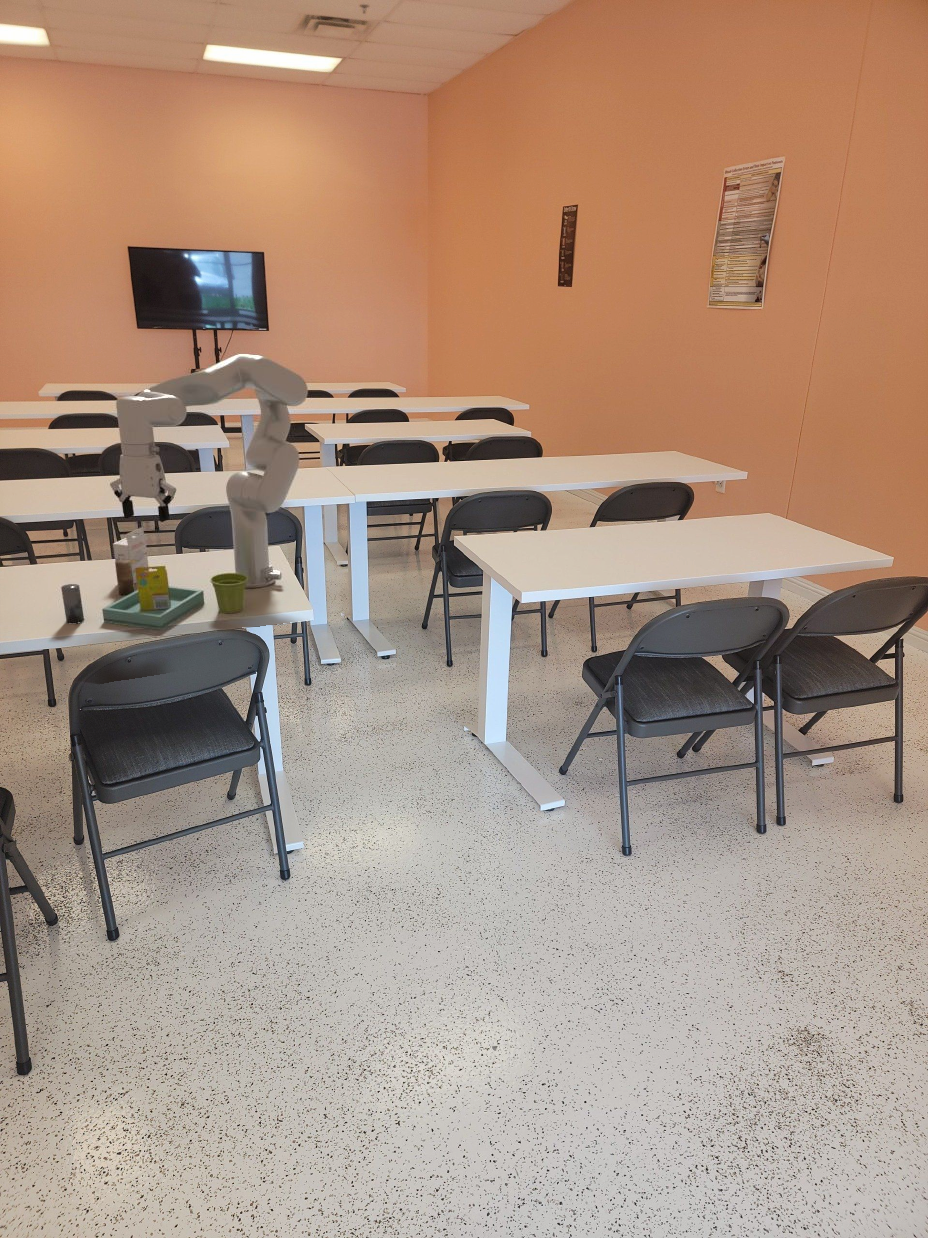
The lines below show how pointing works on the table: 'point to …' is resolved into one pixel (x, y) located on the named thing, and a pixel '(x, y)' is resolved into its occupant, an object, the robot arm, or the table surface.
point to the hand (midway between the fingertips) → (146, 518)
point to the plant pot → (229, 591)
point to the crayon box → (153, 588)
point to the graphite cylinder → (72, 603)
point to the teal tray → (159, 619)
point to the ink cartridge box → (132, 550)
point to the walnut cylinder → (124, 577)
